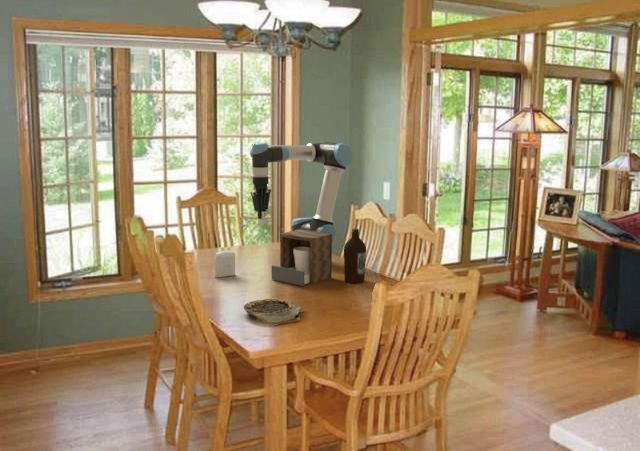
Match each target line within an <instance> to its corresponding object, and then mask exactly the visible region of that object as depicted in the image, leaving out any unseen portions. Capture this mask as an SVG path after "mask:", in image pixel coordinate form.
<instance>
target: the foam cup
mask: <svg viewBox="0 0 640 451" xmlns="http://www.w3.org/2000/svg"><path fill="white" fill-rule="evenodd" d="M293 254H294V259H295V267H296V270H299V271H304V275H308V274H310V247H295V248H294V249H293Z"/></svg>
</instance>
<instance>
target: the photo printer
mask: <svg viewBox="0 0 640 451" xmlns="http://www.w3.org/2000/svg"><path fill="white" fill-rule="evenodd" d="M234 276H236V254H235V252H234V251H232V250H222V251H219V252H216V253H215V254H214V277H215V278H223V277H234Z"/></svg>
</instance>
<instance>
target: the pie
mask: <svg viewBox="0 0 640 451" xmlns="http://www.w3.org/2000/svg"><path fill="white" fill-rule="evenodd" d="M243 309H244V311H245V312H246V313H247V314H248V317H249V318H250V319H252V320H253V321H256V322H262V323H264V324H273V325H272V326H273V327H274V326H277V325H278V323H279V324H280V325H283V324H286V322H287V321H290V320H293V319H296V320H297V322H299V321H300V320H301V314H300V313H304V311H305V309H302V308H301V307H300V306H299V305H298V304H297V303H295V302H294V301H288V300H283V299H279V298H264V299H260V300H259V299H256V300H251V301H249V302H247V303H245V304H244V305H243ZM297 316H298V317H297ZM295 317H297V318H295ZM274 323H275V324H274ZM276 323H277V324H276ZM289 323H294V321H293V322H289Z"/></svg>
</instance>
